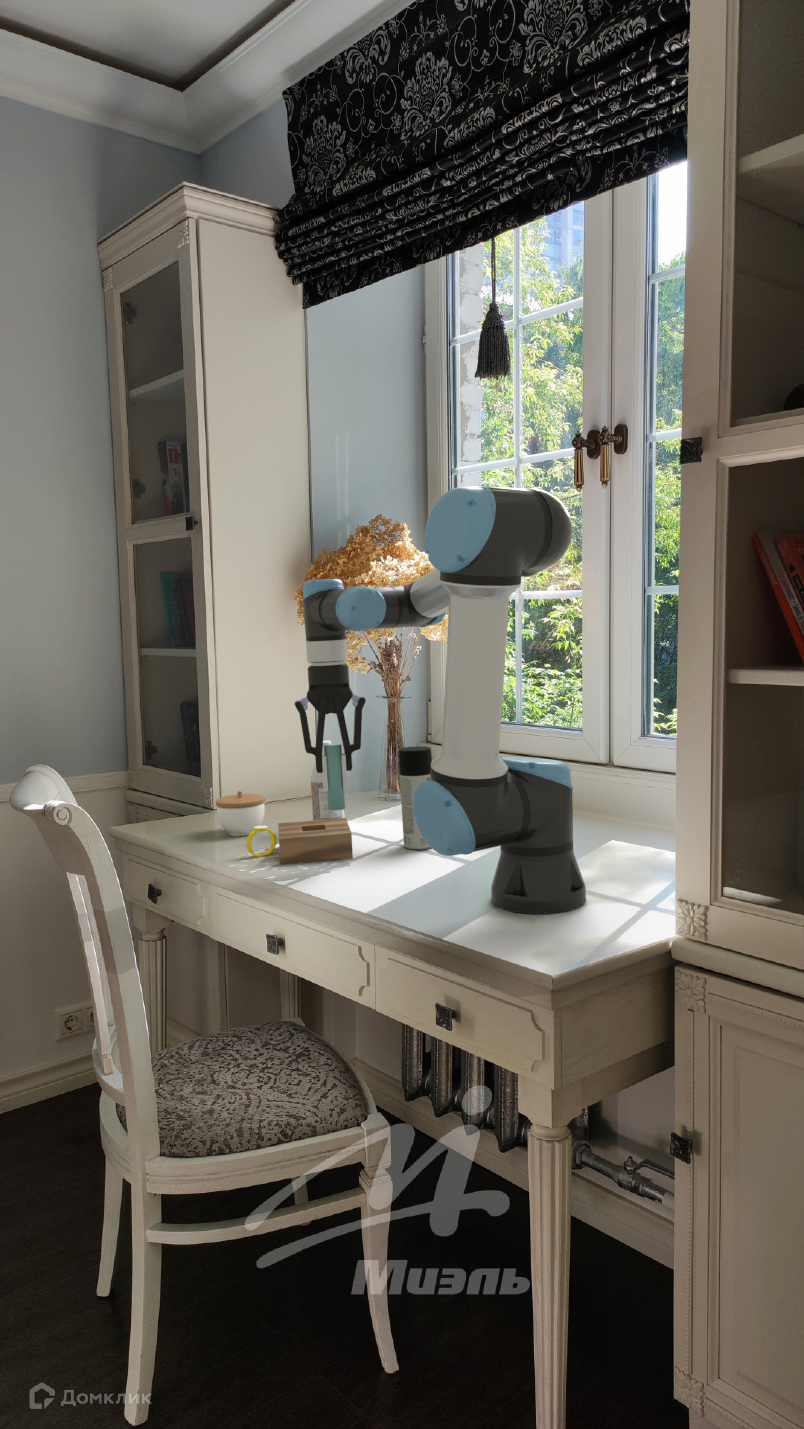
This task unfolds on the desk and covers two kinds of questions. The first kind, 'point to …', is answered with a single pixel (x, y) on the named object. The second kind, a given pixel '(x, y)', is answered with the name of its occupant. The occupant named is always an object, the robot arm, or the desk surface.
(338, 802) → the peg
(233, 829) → the lidded jar
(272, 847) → the watch
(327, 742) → the bath foam
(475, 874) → the desk surface
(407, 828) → the spray can
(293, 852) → the socket
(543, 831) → the robot arm
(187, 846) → the desk surface
